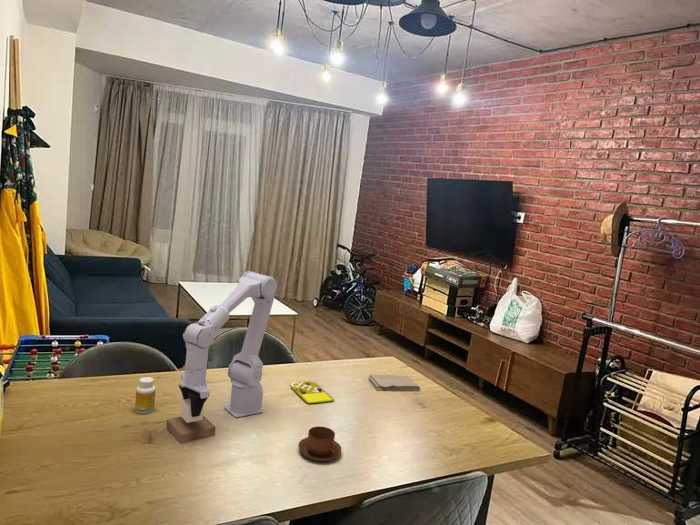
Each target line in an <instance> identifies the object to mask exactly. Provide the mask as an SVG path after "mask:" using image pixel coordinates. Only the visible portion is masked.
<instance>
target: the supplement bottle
mask: <svg viewBox="0 0 700 525" xmlns="http://www.w3.org/2000/svg"><path fill="white" fill-rule="evenodd" d="M138 381H139V382H138V386H137V387H136V389H135V404H134V411H135V413H137V414H141V415H142V414H145V415H147V414H150V413H152V412H153V411H154V410H155V399H156V386H155V385H154V378H153V377H150V376H145V377H141V378H140V379H139V380H138Z"/></svg>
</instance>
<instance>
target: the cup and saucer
mask: <svg viewBox="0 0 700 525" xmlns="http://www.w3.org/2000/svg"><path fill="white" fill-rule="evenodd" d="M335 435H336V433H335V431H334V430H333V429H331V428H330V427H326V426H313V427H311V428H310V429H309V430H308V433H307V437H304V438H303V439H301V440H300V441H299V442H298V451H300V453H301V454H302V455H303V456H304V457H305V458H308V459H310V460H314V461H319V462H327V461H331V460H333V459H335V458H338V457H339V456H340V454H341V452H342V447H341V445H340V443H338V442H337V441H336V440H335V438H336V437H335Z"/></svg>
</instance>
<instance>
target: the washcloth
mask: <svg viewBox="0 0 700 525" xmlns="http://www.w3.org/2000/svg"><path fill="white" fill-rule="evenodd" d="M368 381H369V383H370V384H371V385H372V386H373V388H374V389H375V390H376V391H380V392H419V391H420V390H421V386H420V385H419V384H417V383H416V382H414V381H413V379H412V378H411V377H410V376H408V375H398V374H397V375H396V374H370V375H369V376H368Z"/></svg>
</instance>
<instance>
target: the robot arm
mask: <svg viewBox="0 0 700 525" xmlns="http://www.w3.org/2000/svg"><path fill="white" fill-rule="evenodd" d="M278 287H279V286H278V283H277V281H276V279H275V277H273V276H272V275H271V276H270V275H269V276H268V275H264V274H261V273H258V272H255V271H252V270H247V271H246V272H245V273H243V275H242V276H241V277H239V279H238V284H237V286H236V287H235V288H234V289H233V290H232V292H230V294H229V295H227V297H226V298H225V299H224V300H223V302H222V303H221V304H219V305H218V304H217V305H215V304H214V305H213V306H211V307H210V308H209V310H208V311H207V312H206V313H205V314H204V315H203V316H202V317H201V318H200V319H199V320H198V321H196V322H194V323H191V324H189V325H188V326H187V327H186V328H185V330H184V332H183V334H182V337H183V340H184V342H185V348H186V354H185V355H186V356H185V368H184V369H185V370H184V372H181V375H180V376H181V377H180V380H181V382H179V385H178V388H179V390H180V392H181V394H182V400H183V399H190V404H191V415H192V417H197V416H200V413H201V410H202V408H203V409H204V406H203V405H204V404H205V403H206V401H207V400H208V398H210V390H209V389H208V384H207V381H206V379H207V378H206V377H207V368H208V367H207V366H208V357H209V356H208V355H209V347H210V345H212V344H213V342H214V340H215V337H216V335H217V333H218V331H219V330H220V329H222V327H223V326H224V325H225V324H226V323H227V322H228V321H229V320H230V313H231V312H232V311H234V310H235V309H236V308H237V307H238V306H240V305H241V303H242V302H243V303H244V302H245V301H246V300H247V299H248V298H251V299H252V301H253V304H254V305H253V308H252V310H251V311H252V312H251V316H250V318H249V322H248V323H249V324H248V326H247V330H246V333H245V336H244V341H243V343H242V347H241V350H240V352H239V353H237V354H234V356H233V358H232V360H231V362H230V364H229V366H228V369H227V376H228V378H229V379H230V383H231V390H230V391H231V392H230V402H229V405H225V406H223V408H224V409H225V410H226V411H227V412H228V413H229V414H230V415H232V416H233V417H234V418H237V419H238V418H241V417H246V416H251V415H256V414H261V413H263V410H262V405H263V404H262V403H263V397H264V396H263V395H264V391H263V390H264V389H263V386H262V383H261V380H262V379H263V367H264V363H263V361H262V359H260V356H259V353H260V350H261V347H262V344H263V339H264V336H265V332H266V329H267V326H268V322H269V318H270V314H271V310H272V307H273V303H274V300H275V296H276V292H277V289H278Z"/></svg>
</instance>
